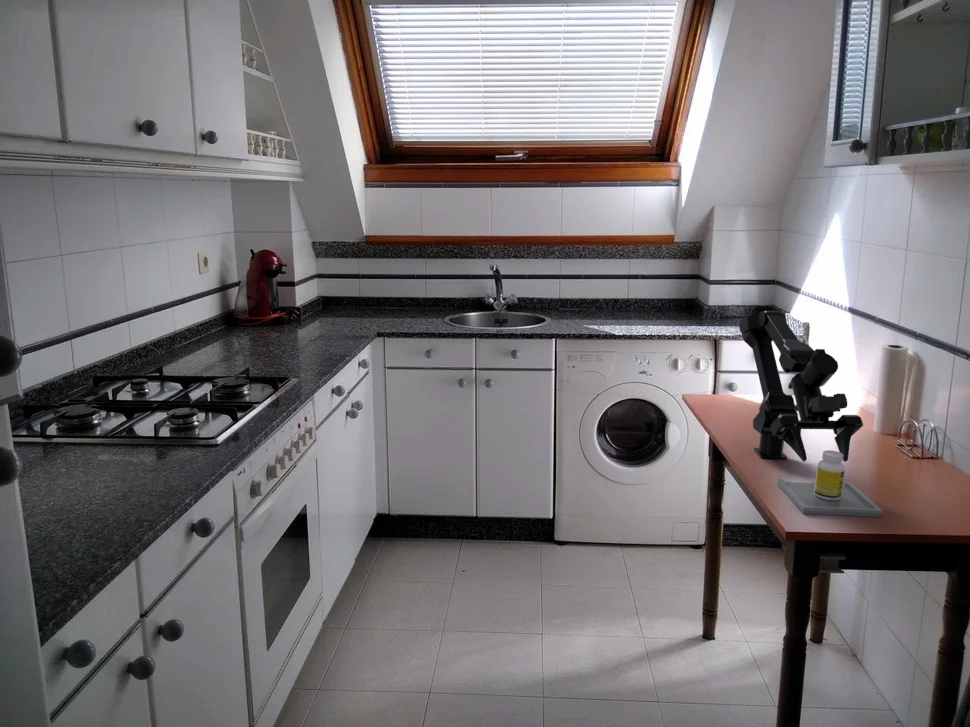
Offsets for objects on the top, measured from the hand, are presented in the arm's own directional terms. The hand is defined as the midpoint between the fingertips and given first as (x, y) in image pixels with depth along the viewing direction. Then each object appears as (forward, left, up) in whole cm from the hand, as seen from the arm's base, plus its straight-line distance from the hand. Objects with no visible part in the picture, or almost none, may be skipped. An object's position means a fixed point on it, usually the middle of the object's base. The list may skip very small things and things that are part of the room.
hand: (825, 460), depth 172 cm
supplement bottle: (+3, 0, -7) cm, 8 cm away
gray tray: (+3, 0, -8) cm, 8 cm away
